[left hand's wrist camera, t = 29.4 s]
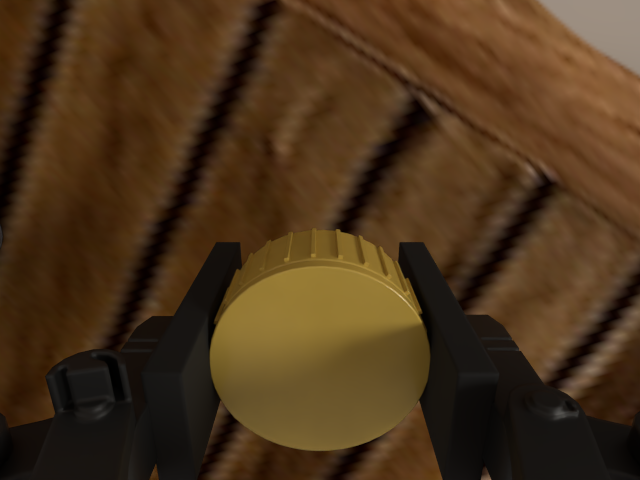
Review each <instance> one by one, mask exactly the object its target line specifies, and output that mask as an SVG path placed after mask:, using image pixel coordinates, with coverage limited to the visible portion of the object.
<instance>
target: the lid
mask: <svg viewBox="0 0 640 480" xmlns="http://www.w3.org/2000/svg"><path fill="white" fill-rule="evenodd" d="M420 314H422V310H421V308H420V305H419V303H418V300H417V298H416V296H415V293H414V291H413V288H412V286H411V284H410V281H409V279H408V278H406V279H405V278H404V276H403V274H402V271H401V269H400V266H399V264H398V262H397V261H395V262H393V261H392V259H391V258H390V257H388V256H387V255H386V254H385V253H384V251H383V248H382V247H380V246H379V247H378V248H377V247H376V246H374V245H373V244H371V243H369V242H367V241H365V240H363V237H362V236H360V235H359V236H358V237H356V236H353V235H350V234H347V233H342V232H340V230H338V229H336V231H328V230H316V228H312V230H309V231H303V232H297V233H293V232H289V233H288V235H287V236H284V237H281V238H279V239H277V240H274V241H272V242H271V240H269V241H267V244H266V246H264V247H262V248H261V249H260V250H258V251H257V252H256V253H255V254H253V253H251V254H250V255H249V257H248V259H247V262H246V263H245V264H244V265H243V267H242V268H241V269H240V270H239V269H237V270H236V272H235V274H234V276H233V279H232V281H231V284H230V286H229V287H228V288H227V291H226V293H225V296H224V298H223V300H222V303H221V305H220V308H219V310H218V313H217V315H216V317H215V320H214V323H213V324H216V327H215V329H214V332H213V335H212V338H211V344H210V350H209V359H210V369H211V377H212V380H213V384H214V387H215V389H216V391H217V393H218V395H219V397H220V399H221V401H222V402H223V404H224V405H225V407H226V408H227V409H228V411H229V412H230V413H231V414H232V415H233V416H234V417H235V418H236V419H237V420H238V421H239V422H240V423H241V424H243V425H244V426H245V427H246V428H248V429H249V430H251V431H252V432H254V433H255V434H257V435H259V436H261V437H263V438H265V439H267V440H269V441H272V442H274V443H277V444H280V445H283V446H287V447H290V448H296V449H302V450H313V451H328V450H338V449H344V448H349V447H353V446H357V445H360V444H363V443H366V442H369V441H371V440H373V439H375V438H377V437H379V436H381V435H383V434H384V433H386V432H388V431H389V430H391V429H392V428H393V427H395V426H396V425H397V424H399V423H400V422H401V421H402V420H403V419H404V418H405V417H406V416H407V415H408V414H409V413H410V412H411V410H412V409H413V408H414V406H415V405H416V404H417V402H418V401H419V399H420V397H421V395H422V393H423V391H424V389H425V386H426V384H427V381H428V375H429V366H430V356H431V352H430V343H429V339H428V336H427V330H426V327H425V325H424V322H423V320H422V317H421V315H420Z"/></svg>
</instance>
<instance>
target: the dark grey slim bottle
mask: <svg viewBox="0 0 640 480" xmlns="http://www.w3.org/2000/svg"><path fill="white" fill-rule="evenodd" d="M2 238H3V235H2V229H1V225H0V248H1V245H2Z"/></svg>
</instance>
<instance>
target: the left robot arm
mask: <svg viewBox="0 0 640 480" xmlns="http://www.w3.org/2000/svg"><path fill="white" fill-rule="evenodd" d="M398 264H399V266H400V269H401V271H402V274H403V276H404V278H405V279H406V278H408V279H409V281H410V284H411V286H412V288H413V291H414V293H415V296H416V298H417V300H418V303H419V305H420V308H421V310H422V314H420V315H421V317H422V320H423V322H424V325H425V327H426V330H427V336H428V339H429V343H430V352H431V356H430V366H429V375H428V381H427V384H426V386H425V389H424V391H423V393H422V395H421V397H420V399H419V401H420V404H421V408H422V411H423V414H424V418H425V421H426V424H427V428H428V431H429V435H430V438H431V441H432V445H433V448H434V452H435V455H436V458H437V462H438V465H439V469H440V472H441V475H442V479H443V480H481V475H482V469H483V463H485V465H486V468H487V470H488V472H489V475H490V477H491V480H640V411H639V412H638V413H637V414H636V415H635V417H634V420H633V423H632V426H628V425H623V424H619V423H614V422H610V421H605V420H601V419H597V418H593V417H590V416H586V415H585V412H584V411H583V410H582V408H581V407H580V405H579V404H578V403H577V402H576V401H575V400H574V399H573V398H571V397H570V396H569V395H568V394H566V393H564V392H562V391H560V390H558V389H556V388H554V387H550V386H546V385H544V383H543V382H542V381H541V379H540V378H539V376H538V375H537V373H536V372H535V371H534V369H533V368H532V366H531V365H530V363H529V362H528V361H527V359H526V358H525V356H524V355H523V353H522V352H521V351H519V348H518V346H517V345H516V343H515V342H514V341H512V338H511V336H510V335H509V333H508V332H507V331H506V329H505V328H504V326H503V325H501V324H500V323H499V322H497V321H496V320H494V319H493V318H491V317H490V316H489V315H465V314H464V312H463V310H462V308H461V307H460V305H459V303H458V301H457V300H456V298H455V296H454V295H453V293H452V291H451V289H450V288H449V286H448V284H447V282H446V281H445V279H444V277H443V276H442V274H441V272H440V270H439V269H438V267H437V265H436V263H435V262H434V260H433V258H432V257H431V255H430V253H429V251H428V250H427V248H426V246H425V244H424V243H423V242H400V245H399V259H398ZM241 268H242V263H241V249H240V242H216V244H215V246H214V247H213V249H212V251H211V253H210V254H209V256H208V258H207V260H206V261H205V263H204V265H203V266H202V268H201V270H200V272H199V273H198V275H197V277H196V279H195V280H194V282H193V284H192V285H191V287H190V289H189V291H188V292H187V294H186V296H185V298H184V299H183V301H182V303H181V304H180V306H179V308H178V310H177V311H176V313H175V315H174V316H152V317H151V318H149V319H148V320H146V321H145V322H143V323H142V324H141V325H139V326H138V327H137V328H136V329H135V331H134V332H133V333H132V335H131V336H130V338H129V339H128V342H126V343H125V345H124V346H123V348H122V349H121V353H119V352H118V351H113V350H109V349H93V350H89V351H85V352H80V353H77V354H75V355H73V356H70V357H68V358H66V359H64V360H62V361H61V362H59V363H58V364H57V365H55V366H54V367H52V369H51V370H50V371H49V372H48V374H47V375H46V376H45V377H46V381H47V384H48V388H49V392H50V395H51V399H52V403H53V406H54V410H55V416H54V417H53V418H50V419H46V420H43V421H38V422H34V423H29V424H25V425H20V426H16V427H11V428H9V427H8V424H7V421H6V418H5V416H3V415H2V414H1V413H0V480H149V479H150V476H151V474H152V471H153V469H154V467H155V464H156V465H157V470H158V476H159V480H197V478H198V474H199V471H200V468H201V464H202V461H203V457H204V454H205V451H206V447H207V444H208V441H209V437H210V434H211V430H212V427H213V424H214V420H215V417H216V413H217V410H218V407H219V403H220V400H221V399H220V397H219V395H218V393H217V391H216V389H215V387H214V384H213V380H212V377H211V369H210V359H209V350H210V344H211V338H212V335H213V332H214V329H215V327H216V324H213V323H214V320H215V317H216V315H217V313H218V310H219V308H220V305H221V303H222V300H223V298H224V296H225V293H226V291H227V288H228V287H229V286H230V284H231V281H232V279H233V276H234V274H235V272H236V270H237V269H239V270H240V269H241Z"/></svg>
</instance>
